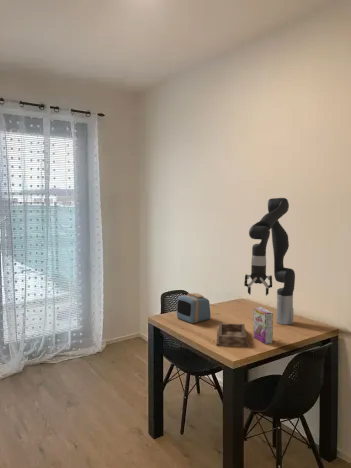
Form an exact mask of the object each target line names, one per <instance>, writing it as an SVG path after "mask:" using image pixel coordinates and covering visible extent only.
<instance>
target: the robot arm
mask: <svg viewBox="0 0 351 468" xmlns="http://www.w3.org/2000/svg"><path fill="white" fill-rule="evenodd" d="M289 206H290V203H289V200H288V199H287V198H286V197H275V198H274V197H273V198H269V199H268V200H267V211H268V213H266V214H264V215H263V217H261V219H260V220H259V221H257V222H256V223H254V224H253V225H252V226H250V228H249V230H248V236H249V237H250V239H252V240H260V242H259V243H255V244H252V246H251V247H252V248H251V262H250V263H251V266H250V268H251V269H250V270H251V271H250V273H251V274H247V273H246V274H245V276H244V285H243V286H244V287H246V288H247V293H248V295H252V294H251V292H252V291H251V290H252V285H253V284H260V285H261V284H263V286H264V287H265V296H268V295H269V290H270V289H271V288H273V276H274V280H275V281H276V282H278V283H281V284H283V287H281V288H278V289H277V290H276V323H277V324H280V325H286V326H287V325H294V290H295V284H296V282H295V281H296V273H295V270H294V269H292V268H290V267H285V266H284V259H285V255H286V254H287V252H288V249H289V246H290V242H289V235H288V232H287V231H286V230H285V228H284V226H282V224H281V223H280V221H279V219H281V218H282V217H283V216H284V215H286V214H287V212H288V211H289V208H290V207H289ZM270 235H271V241H272V242H271V243H272V249H273V273H274V275H267V244H268V241H269V239H270ZM249 279H251V281H250V282H249V283H248V280H249ZM266 280H268V281H269V284H268V283H267V282H266Z"/></svg>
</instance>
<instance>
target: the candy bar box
mask: <svg viewBox="0 0 351 468" xmlns="http://www.w3.org/2000/svg"><path fill="white" fill-rule="evenodd" d="M273 328H274V312H273V311H271V310H269V309H266V308H264V307H261V306H260V307H259V306H258V307H254V308H253V338H254V339H256V340H257V341H259V342H261V343H262V344H264V345H269V344H273V340H274V338H273V337H274V335H273V334H274V333H273V330H274V329H273Z"/></svg>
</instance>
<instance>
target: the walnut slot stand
mask: <svg viewBox="0 0 351 468" xmlns="http://www.w3.org/2000/svg"><path fill="white" fill-rule="evenodd" d="M216 329H217V330H216V347H217V346H218V347H219V346H220V347H240V348H241V347H243V348H248V347H249V340H248V335H247V333H248V332H247V329H246V327H245V323H225V322H224V323H223V322H219V323H218V328H216Z"/></svg>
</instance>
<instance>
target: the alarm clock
mask: <svg viewBox="0 0 351 468" xmlns="http://www.w3.org/2000/svg"><path fill="white" fill-rule="evenodd" d="M176 305H177V306H176V317H177V318H178V319H180V320H181V321H184V322H187V323H190V324H195V323H200V322H203V321H207V320H209V319H211V315H212V314H211V306H210V305H211V304H210V300H209V299H208V297H207V298H206V297H205V296H204V295H202V294H200V293H196V292H191V293H187V294H185V295H183V294H182V295H179V296H178V297H177V302H176Z"/></svg>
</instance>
